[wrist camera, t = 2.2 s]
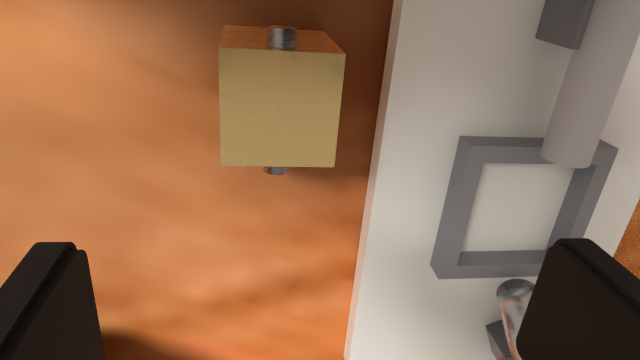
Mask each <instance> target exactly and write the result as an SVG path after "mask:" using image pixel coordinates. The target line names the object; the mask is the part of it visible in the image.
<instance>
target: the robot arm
mask: <svg viewBox="0 0 640 360" xmlns="http://www.w3.org/2000/svg"><path fill="white" fill-rule="evenodd" d="M516 348H517V351H518V354H519V356H520V357H521V359H522V360H640V280H639V279H638V278H637V277H636V276H634V275H633V274H632V273H631V272H630V271H628V270H627V269H626V268H625V267H624V266H622V265H621V264H620V263H619V262H618V261H616V260H615V259H614V258H613V257H612V256H610V255H609V254H608V253H607V252H606V251H604V250H603V249H602V248H601V247H599V246H598V245H597V244H596V243H595V242H593V241H592V240H590V239H588V238H561V239H558V240H557V241H556V242H555V243H554V245H552V246H550V247H549V248H548V250H547V252H546V255H545V258H544V261H543V264H542V267H541V269H540V272H539V275H538V278H537V281H536V283H535V286H534V289H533V292H532V295H531V298H530V300H529V303H528V306H527V309H526V312H525V314H524V317H523V320H522V323H521V326H520V329H519V331H518V334H517V337H516ZM0 360H105V354H104V349H103V343H102V338H101V332H100V326H99V321H98V315H97V309H96V304H95V298H94V292H93V287H92V281H91V275H90V270H89V264H88V258H87V254H86V252H85V251H84V250H77V249H76V246H75V245H74V243H72V242H38V243H36V244H35V245H33V246H32V248H31V249H30V250H29V252H28V253H27V254H26V255H25V257H24V258H23V259H22V261H21V262H20V263H19V265H18V266H17V267H16V268H15V270H14V271H13V272H12V274H11V275H10V276H9V277H8V279H7V280H6V281H5V283H4V284H3V285H2V286H1V288H0Z"/></svg>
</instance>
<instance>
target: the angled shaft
mask: <svg viewBox="0 0 640 360" xmlns="http://www.w3.org/2000/svg"><path fill="white" fill-rule="evenodd" d="M534 286H535V285H534V284H533V283H531V282H530V281H527V280H524V279H510V280H507V281H505V282H503V283H502V284H501V285H499V287H498V288H497V291H496V295H497V300H498V304H499V308H500V313H501V317H502V319H501V320H499V321H496V322H493V323H491V324H488V325H486V326H485V327H486V331H487V335H488V339H489V343H490V346H491V350H492V353H493V354H494V356H495V358H496V359H497V360H522V359H521V357H520V356H519V354H518V351H517V348H516V337H517V334H518V331H519V329H520V326H521V323H522V320H523V317H524V314H525V312H526V309H527V306H528V303H529V300H530V298H531V295H532V292H533V289H534Z"/></svg>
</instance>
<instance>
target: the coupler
mask: <svg viewBox="0 0 640 360" xmlns="http://www.w3.org/2000/svg"><path fill="white" fill-rule="evenodd" d="M345 59H346V54H345V53H344V52H343V51H342V50H341V48H340V47H339V46H338V45H337V44H336V43H335V42H334V41H333V40H332V39H331V38H330V37H329V36H328V35H327V34H326V33H325V32H324V31H318V30H302V29H297V28H295V27H291V26H282V25H270V26H267V27H253V26H237V25H225V26H224V30H223V33H222V36H221V40H220V43H219V46H218V65H219V112H220V160H221V166H264V171H265V172H266V173H269V174H273V175H282V174H286V173H288V172H289V167H334V165H335V156H336V146H337V136H338V127H339V117H340V107H341V98H342V88H343V78H344V68H345Z"/></svg>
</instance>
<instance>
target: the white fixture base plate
mask: <svg viewBox="0 0 640 360" xmlns="http://www.w3.org/2000/svg"><path fill="white" fill-rule="evenodd" d="M639 199H640V0H394V3H393V10H392V17H391V24H390V31H389V38H388V45H387V52H386V59H385V66H384V73H383V80H382V87H381V94H380V101H379V108H378V115H377V122H376V129H375V136H374V144H373V151H372V158H371V165H370V172H369V179H368V186H367V193H366V200H365V207H364V214H363V221H362V228H361V235H360V242H359V249H358V256H357V263H356V270H355V277H354V284H353V291H352V298H351V305H350V312H349V319H348V326H347V333H346V340H345V347H344V354H343V355H344V359H345V360H497V359H496V358H495V356H494V354H493V353H492V350H491V346H490V343H489V339H488V335H487V331H486V327H485V326H486V325H488V324H491V323H493V322H496V321H499V320H501V319H502V317H501V313H500V308H499V304H498V300H497V295H496V291H497V288H498V287H499V285H501V284H502V283H503V282H505V281H507V280H510V279H524V280H527V281H530V282H531V283H533V284H534V285H535V283H536V281H537V278H538V275H539V272H540V269H541V267H542V264H543V261H544V258H545V255H546V252H547V250H548V248H549V247H550V246H552V245H554V243H555V242H556V241H557V240H558V239H561V238H588V239H590V240H592V241H593V242H595V243H596V244H597V245H598V246H599V247H601V248H602V249H603V250H604V251H606V252H607V253H608V254H609V255H610V256H612V257H613V256H614V254H615V252H616V250H617V247H618V245H619V243H620V241H621V238H622V236H623V234H624V232H625V230H626V227H627V225H628V223H629V221H630V219H631V216H632V214H633V212H634V210H635V207H636V205H637V203H638V201H639Z"/></svg>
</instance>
